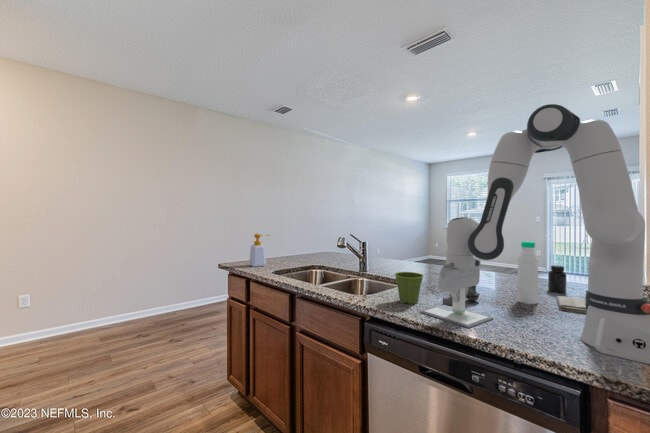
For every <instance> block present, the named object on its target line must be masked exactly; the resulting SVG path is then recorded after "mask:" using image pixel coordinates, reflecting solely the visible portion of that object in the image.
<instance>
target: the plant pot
mask: <svg viewBox="0 0 650 433" xmlns="http://www.w3.org/2000/svg"><path fill="white" fill-rule="evenodd" d="M393 275H394V276H395V280H396V281H395V282H396V284H397V292H398V297H399V302H401V303H403V304H408V305H414V304H417V303H418V302H419V298H420V291H421V285H422V282H423V278H424V277H425V275H424V274H422V273H419V272H414V271H399V272H398V271H397V272H395V273H394V274H393Z"/></svg>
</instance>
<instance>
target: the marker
mask: <svg viewBox="0 0 650 433" xmlns="http://www.w3.org/2000/svg"><path fill="white" fill-rule="evenodd" d="M457 296H458V297H459V302H453V308H452V312H455V313H459V314H462V313H465V310H466V302H465V288H463V289H459V290H458V293H457Z"/></svg>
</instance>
